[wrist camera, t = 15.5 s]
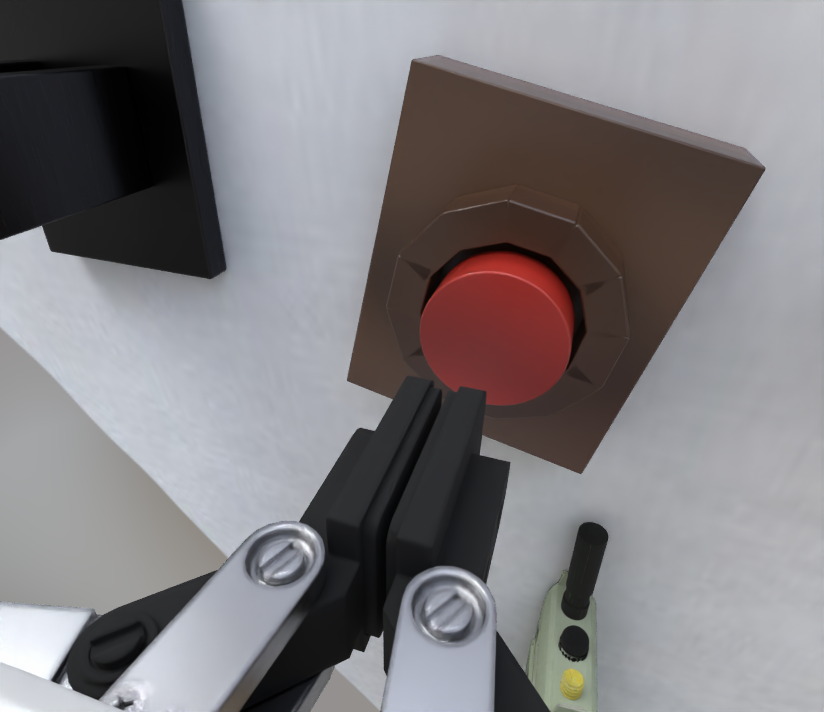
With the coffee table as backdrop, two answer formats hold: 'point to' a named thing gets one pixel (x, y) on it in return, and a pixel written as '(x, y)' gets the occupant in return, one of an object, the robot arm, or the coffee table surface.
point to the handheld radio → (570, 631)
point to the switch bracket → (105, 134)
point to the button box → (544, 235)
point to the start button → (499, 327)
